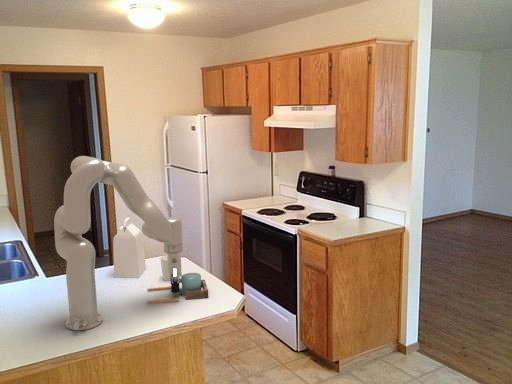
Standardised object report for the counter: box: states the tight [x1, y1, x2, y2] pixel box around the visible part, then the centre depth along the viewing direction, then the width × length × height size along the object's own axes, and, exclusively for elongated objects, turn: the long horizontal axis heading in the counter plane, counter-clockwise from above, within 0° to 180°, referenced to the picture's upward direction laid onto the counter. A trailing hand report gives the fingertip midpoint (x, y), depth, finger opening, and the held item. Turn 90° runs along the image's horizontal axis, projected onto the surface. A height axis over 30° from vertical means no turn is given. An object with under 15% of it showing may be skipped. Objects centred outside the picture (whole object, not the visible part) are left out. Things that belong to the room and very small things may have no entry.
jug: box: [172, 272, 202, 297], centre depth 192 cm, size 8×12×8 cm
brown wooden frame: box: [184, 279, 209, 301], centre depth 194 cm, size 12×9×3 cm
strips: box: [146, 285, 179, 305], centre depth 191 cm, size 14×12×1 cm
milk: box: [112, 217, 147, 279], centre depth 214 cm, size 12×12×26 cm
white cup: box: [160, 254, 171, 282], centre depth 209 cm, size 8×8×10 cm
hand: (175, 288), depth 192 cm, fingers open, 8 cm apart
